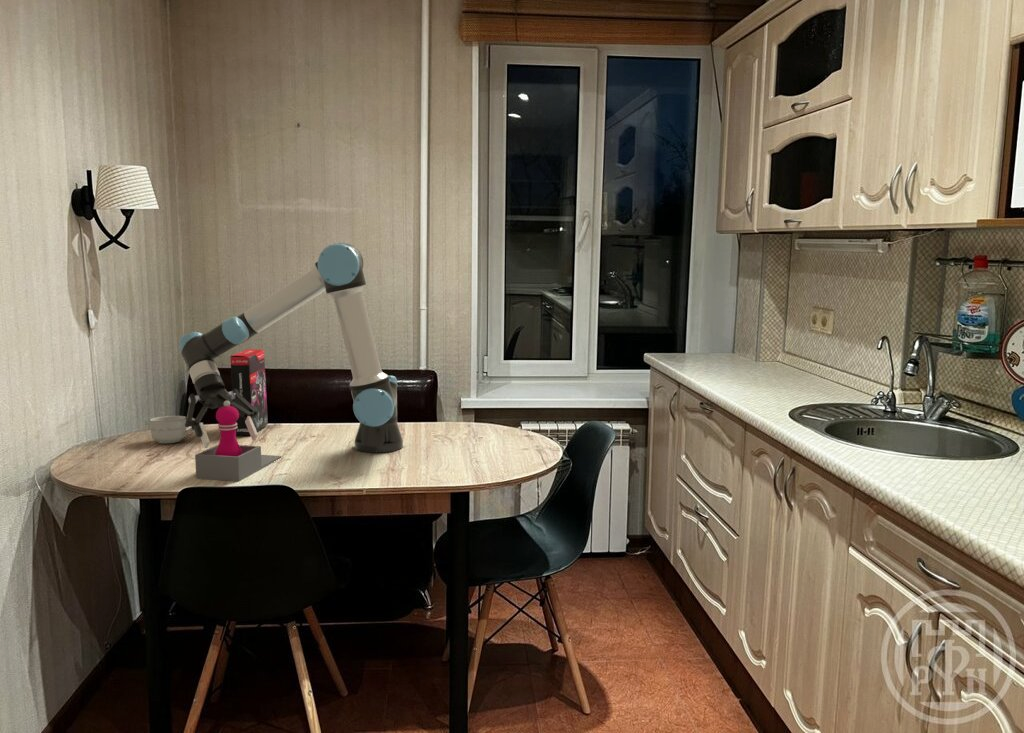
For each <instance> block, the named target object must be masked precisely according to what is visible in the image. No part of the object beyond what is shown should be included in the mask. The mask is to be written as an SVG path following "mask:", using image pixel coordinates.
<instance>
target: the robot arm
mask: <svg viewBox="0 0 1024 733" xmlns="http://www.w3.org/2000/svg"><path fill="white" fill-rule="evenodd" d="M313 264H314V265H313V268H311V269H310V270H308V271H307V272H305V273H304V274H302V275H301V276H299V277H297V278H296V279H294V280H293V281H291V282H289V283H288V284H286V285H285V286H283V287H282V288H280V289H279V290H276V291H275V292H274V293H272V294H270V295H269V296H268V297H266V298H264V299H263V300H261V301H260V302H258V303H256V304H255V305H254V306H252V307H250V308H249V309H247V310H245V311H244V312H243V313H241V314H238V315H237V316H232V317H230V318H228V319H226V320H224V321H223V322H222V323H220V324H218V325H217V326H215V327H213V328H212V329H210V330H209V331H207V332H205V333H201V332H199V331H193V332H191V333H186V334H184V335H183V336H182V337H181V338H180V339H179V343H178V346H179V350H180V354H181V356H182V358H183V360H184V363H185V365H186V367H187V371H188V373H189V376H190V378H191V380H192V384H193V385H194V389H195V391H196V393H197V394H196V395H195V394H194V393H190V395H189V397H188V400H187V401H188V409H187V414H186V422H185V427H186V428H189V427H191V428H192V429H193V431H194V433H195V435H196V437H198V438H200V439H201V442H202V444H203V447H204V449H209V448H208V447H209V445H210V443H211V440H210V438H209V436H208V433H207V430H206V428H205V425H204V422H201V421H202V419H203V417H204V415H205V414H206V413H207V410H208V409H211V410H214V409H219V408H221V407H223V406H224V402H225V401H229V402H230V406H232V407H235V408H236V409H237V410H238V413H239V415H240V416H241V417H243V418H245V419H246V421H245V423H246V426H247V428H248V431H249V433H250V435H249V436H250V437H251V440H252V441H256V440H257V438H258V436H259V433H258V432H257V431H256V429H255V428H256V425H257V424H256V422H255V419H254V418H256V416H257V414H258V410H257V409H256V408H254V407H253V406H252V405H251V404H250V403H249V402H248V401H247V400H246V399H245V398H243V397H242V396H241V395H240V393H239V392H238V390H237V389H234V390H233V391H232V390H231V391H227V389H226V387H225V383H224V381H223V379H222V376H221V374H220V371H219V369H218V366H217V364H216V362H215V359H216V358H218V357H220V356H221V355H223V354H224V353H226V352H228V351H229V350H231V349H233V348H235V347H237V346H240V345H241V344H244V343H246V342H248V341H249V340H250V339H252V338H253V337H254V336H256V335H257V334H259V333H260V332H262V331H263V330H266V328H268V327H270V326H271V325H273V324H275V323H277V322H278V321H279V320H281V319H283V318H284V317H286V316H288V315H289V314H291V313H292V312H293V311H295V310H297V309H299V308H300V307H302V306H303V305H305V304H306V303H308V302H310V301H312V300H313V299H314V298H316V297H317V296H319V295H321V294H322V293H324V292H326V295H327V296H329V297H330V298H332V299H333V303H334V307H335V310H336V314H337V319H338V322H339V327H340V330H341V335H342V339H343V342H344V347H345V351H346V354H347V359H348V363H349V366H350V370H351V374H352V380H351V381H350V383H349V388H350V393H351V396H352V400H353V404H352V410H353V413H354V416H355V418H356V419H357V420H358V421H359V426H358V428H357V432H356V435H355V439H354V449H355V450H356V451H359V452H365V453H388V452H389V453H390V452H395V451H399V450H401V449H402V448H403V447H404V444H403V443H404V440H403V437H402V434H401V431H400V427H399V424H398V388H397V387H398V381H397V380H398V379H397V377H396V376H394V375H388V374H387V373H385V372H383V370H382V366H381V363H380V359H379V355H378V354H379V353H378V350H377V345H376V342H375V337H374V333H373V330H372V326H371V322H370V319H369V318H370V317H369V313H368V310H367V305H366V301H365V297H364V290H365V289H366V287H367V283H366V278H365V274H364V271H363V270H364V259H363V255H362V253H361V252H360V250H359V249H358V248H357V247H355V246H354V245H352V244H349V243H344V242H343V243H342V242H336V243H332V244H329V245H327V246H326V247H325V248H323V249H322V251H321V252H320V254H319V256H318V259H317V261H315V263H313ZM233 399H234V401H235V402H236V403H235V402H234V401H233ZM197 402H200V403H201V404H202V407H201V408H200V411H199V412H198V414H197V416H196V417H195V418H194V417H193V415H194V412H195V407H196V404H197ZM192 418H194V419H195V420H192Z"/></svg>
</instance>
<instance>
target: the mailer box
mask: <svg viewBox="0 0 1024 733" xmlns="http://www.w3.org/2000/svg"><path fill="white" fill-rule="evenodd" d="M218 445H219V443H218V444H217V445H214V446H212V447H209V448H206V449H205V450H202V451H200V452H198V453H196V454H195V455H194V459H195V461H194V462H195V479H199V480H215V481H229V482H240V481H242V480H244V479H246V478H248V477H250V476H251V475H253V474H255V473H257V472H258V471H261V470H263V469H264V468H266V467H268V466H269V464H270V465H271V463H272V464H273V463H275V462H277V461H279V460H280V458H281V457H282V455H274V454H273V455H272V454H271V455H270V454H262V448H261V447H262V446H259V445H246V444H245V445H244V444H239V446H240V448H241V450H242V454H241V455H239V456H220V455H215V453H216V450H217V447H218ZM278 459H279V460H278ZM281 459H282V458H281ZM276 460H277V461H276ZM274 461H275V462H274Z"/></svg>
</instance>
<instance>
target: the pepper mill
mask: <svg viewBox="0 0 1024 733" xmlns="http://www.w3.org/2000/svg"><path fill="white" fill-rule="evenodd" d="M238 418H239V413H238V410H237V409H236V408H235V407H232V406H230V402H229V401H225V402H224V406H223V407H221V408H217V410H216V412H215V419H216V421H217V422H218V423H217V426H218V428H217V429H218V430H219V432H220V436H219V437H220V439H219V442H218V444H219V445H218V444H217V445H218V447H217V450H216V453H215V455H220V456H239V455H241V454H242V450H241V448H240V446H239V445H240V444H239V442H238V441H237V440H238V439H237V435H236V429H237V423H236V421H237V420H238Z"/></svg>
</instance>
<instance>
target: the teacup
mask: <svg viewBox="0 0 1024 733" xmlns="http://www.w3.org/2000/svg"><path fill="white" fill-rule="evenodd" d="M186 418H187V416H185V415H166V416H157V417H153V418H152V417H151V418H150V419H149V423H150V425H149V426H150V434H151V438H152V440H154V441H156V442H157V443H158V444H175V443H179V442H181V441H182V440H183V439H184V438H185V437H187V436H188V435H189V434H190V433H191V432H193V431H194V430H193V429H192V427H191V428H189V429H187V427H185V422H186ZM195 419H196V418H194V417H192V420H195Z"/></svg>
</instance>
